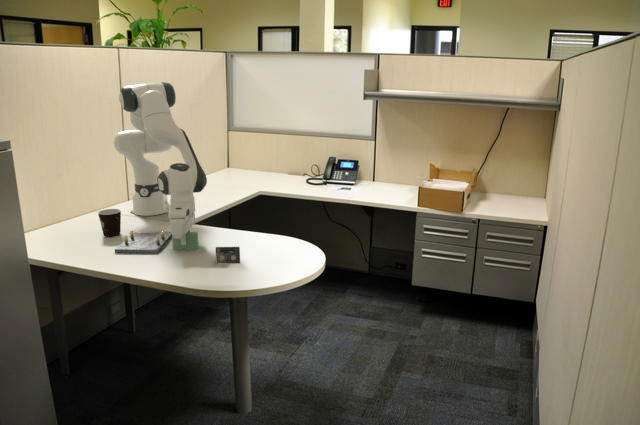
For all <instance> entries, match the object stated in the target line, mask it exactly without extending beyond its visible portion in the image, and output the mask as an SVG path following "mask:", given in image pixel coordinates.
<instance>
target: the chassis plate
mask: <svg viewBox="0 0 640 425" xmlns="http://www.w3.org/2000/svg"><path fill="white" fill-rule="evenodd" d="M123 238H124V240H123V241H122V243H120V244H119V245H118V246H116V248H114V253H115V254H159V253H160V252H161V250H162V249H163V248H164V247H165V246H166V245H167V244H168V243H169V242H170V240H172V232H165V230H160V232H134V230H129V235H128V234H127V235H124V236H123Z"/></svg>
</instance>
